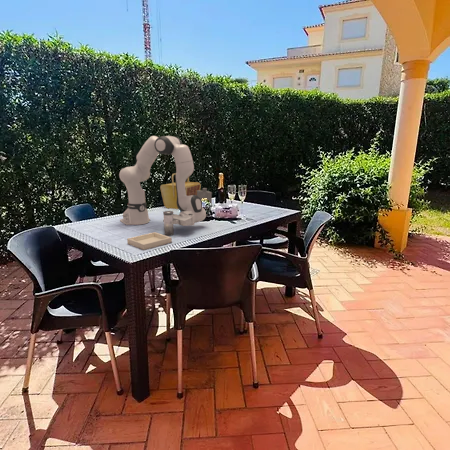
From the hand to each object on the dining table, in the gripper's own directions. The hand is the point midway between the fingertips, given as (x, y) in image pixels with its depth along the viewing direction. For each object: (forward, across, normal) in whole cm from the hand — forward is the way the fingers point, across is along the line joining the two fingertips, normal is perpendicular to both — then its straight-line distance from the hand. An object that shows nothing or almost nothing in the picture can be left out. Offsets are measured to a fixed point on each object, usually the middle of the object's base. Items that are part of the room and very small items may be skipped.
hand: (167, 221), depth 185 cm
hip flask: (-60, -30, +8) cm, 67 cm away
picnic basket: (-65, -65, +9) cm, 92 cm away
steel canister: (-1, 0, +8) cm, 8 cm away
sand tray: (+17, +6, +8) cm, 20 cm away
